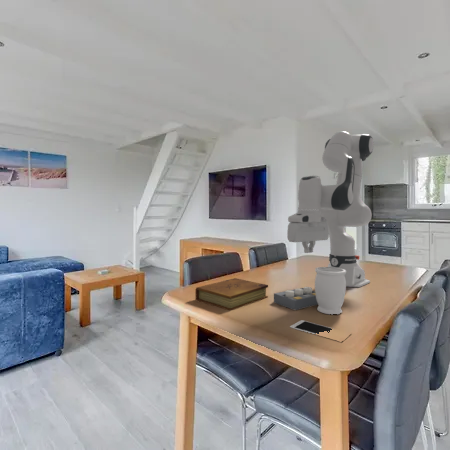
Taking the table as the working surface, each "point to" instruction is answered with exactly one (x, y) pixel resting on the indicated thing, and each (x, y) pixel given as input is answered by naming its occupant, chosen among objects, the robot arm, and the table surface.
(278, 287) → the table surface
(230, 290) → the diary
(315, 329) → the cell phone
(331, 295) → the jar
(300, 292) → the button mid
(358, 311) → the table surface
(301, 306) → the board
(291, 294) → the button
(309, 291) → the button
